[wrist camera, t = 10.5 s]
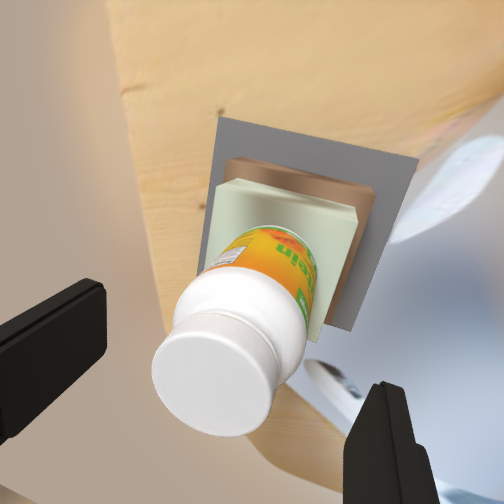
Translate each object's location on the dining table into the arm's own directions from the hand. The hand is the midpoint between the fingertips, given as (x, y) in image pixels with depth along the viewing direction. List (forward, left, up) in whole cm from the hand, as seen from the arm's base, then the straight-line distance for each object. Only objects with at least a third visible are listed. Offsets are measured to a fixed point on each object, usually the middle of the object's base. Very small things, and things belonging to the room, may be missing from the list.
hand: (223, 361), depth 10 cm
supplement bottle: (0, 0, -9) cm, 9 cm away
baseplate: (0, 0, -18) cm, 18 cm away
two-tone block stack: (0, 0, -18) cm, 18 cm away
